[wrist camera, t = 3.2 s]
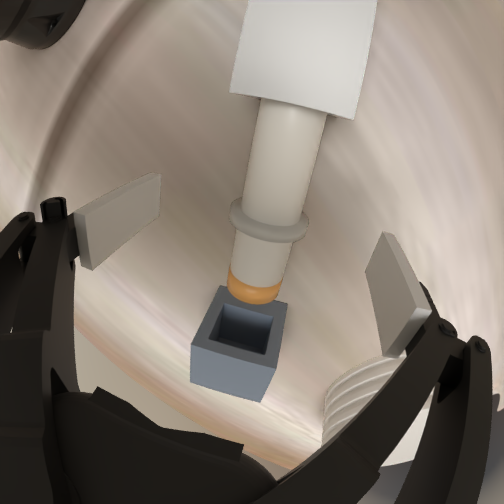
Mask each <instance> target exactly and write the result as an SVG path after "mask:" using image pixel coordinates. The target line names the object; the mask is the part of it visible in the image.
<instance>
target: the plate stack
mask: <svg viewBox="0 0 504 504" xmlns="http://www.w3.org/2000/svg"><path fill="white" fill-rule="evenodd" d="M406 357H407V356H406V351H405V350H404V351H403V353H402V354H401V355H400V356H399V358H398V359H395V358H389V357H383V355H381V356H378V357H375V358H373V359H370V360H368V361H366V362H364V363H361V364H359V365H358V366H356V367H354V368H352V369H350V370H349V371H347V372H346V373H344V374H343V375H342V376H340V377H339V378H338V379H337V380H336V381H335V382H334V383H333V384H332V385H331V386H330V387H329V389H328V391H327V393H326V395H325V408H324V421H323V433H322V445H321V447H322V446H323V445H324V444H325V443H327V442H328V441H329V440H330V439H331V438H332V437H333V436H334V435H335V434H337V433H338V432H339V431H340V430H341V429H342V428H343V427H344V426H345V425H346V424H347V423H348V422H349V421H350V420H351V419H352V418H353V417H354V416H355V415H356V414H357V413H358V412H359V411H360V410H361V409H362V408H363V407H364V406H365V405H366V404H367V403H368V402H369V401H370V400H371V399H372V397H373V396H374V395H375V394H376V393H377V392H378V391H379V390H380V388H381V387H382V386H383V385H384V384H385V383H386V381H387V380H388V379H389V378H390V377H391V375H392V374H393V372H394V371H395V370H396V369H397V368H398V367H399V365H400V364H401V363H402V362H403V361H404V359H405V358H406ZM434 387H435V386H434ZM433 392H434V388H433V390H432V392H431V394H430V395H429V397H428V399H427V401H426V402H425V404H424V406H423V407H422V409H421V411H420V412H419V414H418V415H417V417H416V419H415V420H414V422H413V423H412V425H411V426H410V428H409V429H408V431H407V432H406V434H405V435H404V437H403V438H402V439H401V441H400V442H399V443H398V445H397V446H396V448H395V449H394V450H393V452H392V453H391V454H390V455H389V457H388V458H387V459H386V461H385V462H384V463H383V464H382V465H381V466H387V465H393V464H398V463H403V462H406V461H410V460H413V459H414V457H415V454H416V451H417V449H418V446H419V443H420V440H421V437H422V433H423V430H424V427H425V423H426V420H427V416H428V413H429V409H430V405H431V401H432V396H433Z"/></svg>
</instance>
